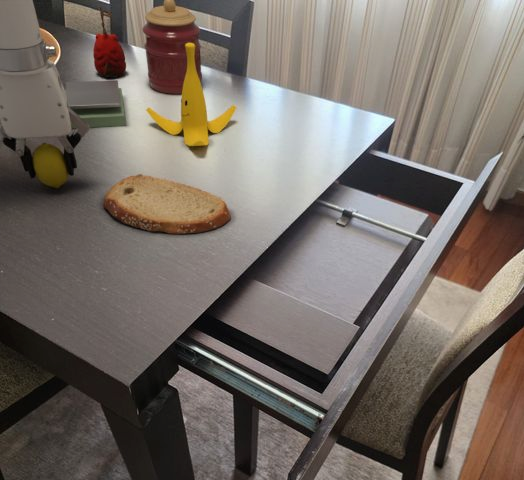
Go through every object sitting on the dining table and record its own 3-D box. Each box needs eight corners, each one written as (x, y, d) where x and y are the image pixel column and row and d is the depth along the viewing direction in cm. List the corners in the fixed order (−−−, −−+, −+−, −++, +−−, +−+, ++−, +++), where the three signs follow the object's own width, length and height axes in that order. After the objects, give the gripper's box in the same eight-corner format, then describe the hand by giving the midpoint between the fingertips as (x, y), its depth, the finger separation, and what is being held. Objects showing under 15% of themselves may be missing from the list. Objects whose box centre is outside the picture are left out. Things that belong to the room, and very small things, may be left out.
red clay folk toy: (128, 69, 124) (118, -1, 113) (126, 80, 120) (116, 7, 109) (97, 69, 123) (84, -2, 112) (94, 80, 119) (80, 7, 108)
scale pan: (65, 109, 99) (64, 106, 98) (67, 84, 107) (66, 82, 107) (120, 106, 101) (120, 103, 101) (118, 83, 109) (117, 80, 109)
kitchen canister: (184, 99, 114) (178, 10, 101) (138, 87, 117) (126, -1, 104) (211, 81, 122) (209, -4, 109) (167, 71, 125) (160, -13, 112)
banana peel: (199, 159, 95) (194, 64, 82) (146, 124, 104) (134, 34, 91) (262, 137, 102) (267, 47, 90) (208, 106, 112) (205, 21, 99)
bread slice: (238, 222, 81) (238, 202, 78) (136, 253, 74) (133, 233, 71) (190, 174, 91) (188, 154, 88) (96, 197, 84) (91, 177, 81)
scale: (42, 130, 100) (36, 113, 97) (46, 100, 110) (41, 84, 107) (126, 126, 103) (123, 109, 100) (122, 97, 113) (120, 81, 110)
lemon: (61, 198, 83) (48, 153, 77) (33, 191, 84) (18, 146, 78) (79, 183, 87) (68, 139, 81) (53, 177, 88) (40, 133, 82)
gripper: (80, 45, 74) (104, 159, 88) (-42, 48, 71) (1, 166, 84) (80, 63, 69) (104, 180, 83) (-52, 66, 66) (-4, 188, 80)
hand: (52, 172), depth 83 cm, fingers closed on lemon, 5 cm apart
